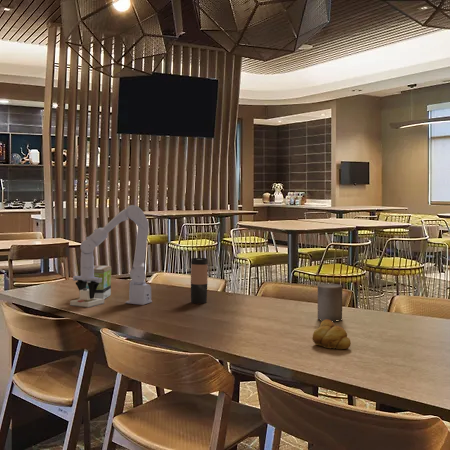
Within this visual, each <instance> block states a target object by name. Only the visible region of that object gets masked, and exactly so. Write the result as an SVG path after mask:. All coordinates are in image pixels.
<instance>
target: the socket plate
mask: <svg viewBox="0 0 450 450" xmlns="http://www.w3.org/2000/svg"><path fill="white" fill-rule="evenodd" d="M104 304H105V299H99V298H94V299H92V301H89V302H85V301H84V300H81V299H80V298H77V299H74V300H73V299H72V300H70V301H69V306H71V307H80V308H87V309H89V308H92V307H95V306H96V307H97V306H100V305H104Z"/></svg>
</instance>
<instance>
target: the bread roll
mask: <svg viewBox="0 0 450 450" xmlns="http://www.w3.org/2000/svg"><path fill="white" fill-rule="evenodd" d="M320 322H321V323H320V325H319V327H317V328H316V329H315V330H314V332H313V333H312V338H311V340H312V341H313V343H314V344H315V345H316V346H320V347H323V348H326V349H331V348H333V349H335V348H336V349H337V350H346V349H347V350H348V349H349V348H351V345H352V344H351V339H350V337H348V333H347V331H346V329H344V328H343V327H342V326H341V325H336V324H335V322H332V321H331V320H329V319H326V320H323V321H320Z"/></svg>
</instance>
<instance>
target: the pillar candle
mask: <svg viewBox="0 0 450 450" xmlns="http://www.w3.org/2000/svg"><path fill="white" fill-rule="evenodd" d="M318 319H321V320H326V319H329V320H331V321H336V320H341V319H342V320H343V285H342V284H338V283H331V282H330V283H320V284H317V320H318Z"/></svg>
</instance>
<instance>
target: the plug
mask: <svg viewBox="0 0 450 450" xmlns="http://www.w3.org/2000/svg"><path fill="white" fill-rule="evenodd" d="M78 291H79V299H81V300H84V301H85V302H89V301H92V299H94V298H95V295H94V298H92V299H90V296H89V289H87V288H84V289H83V290H79V289H78Z"/></svg>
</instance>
